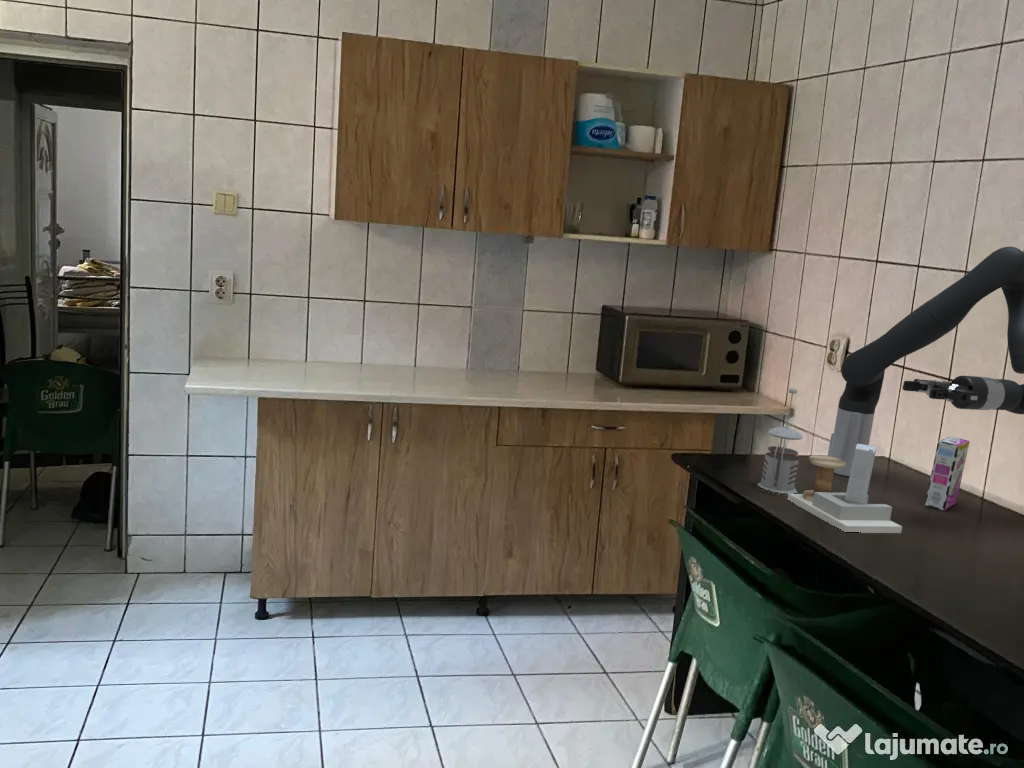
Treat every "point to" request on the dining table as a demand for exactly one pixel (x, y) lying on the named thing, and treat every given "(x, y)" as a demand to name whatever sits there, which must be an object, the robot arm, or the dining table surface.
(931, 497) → the candy bar box
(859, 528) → the notched board
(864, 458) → the skincare box
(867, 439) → the robot arm
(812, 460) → the bobbin
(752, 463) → the dining table surface
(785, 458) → the french press
